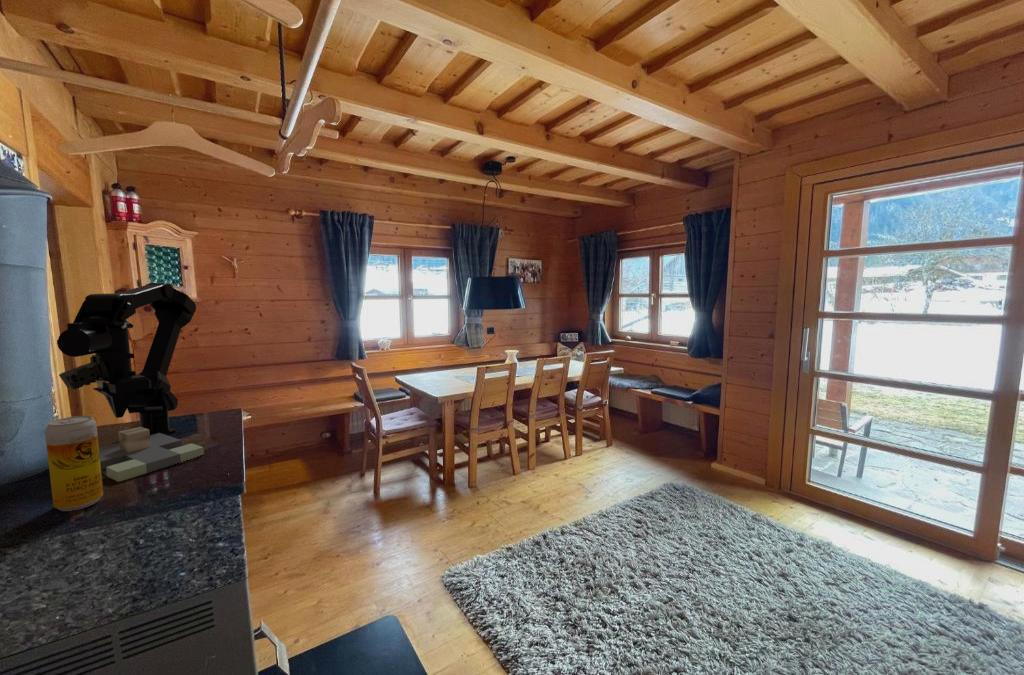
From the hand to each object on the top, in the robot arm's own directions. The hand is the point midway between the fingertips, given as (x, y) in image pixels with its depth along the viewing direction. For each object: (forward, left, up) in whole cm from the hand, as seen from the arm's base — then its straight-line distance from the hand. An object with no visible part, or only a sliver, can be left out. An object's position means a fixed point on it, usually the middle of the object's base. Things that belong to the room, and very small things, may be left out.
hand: (119, 417), depth 97 cm
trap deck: (+10, 0, -8) cm, 12 cm away
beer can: (+25, -15, -8) cm, 30 cm away
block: (+7, 0, -6) cm, 9 cm away
